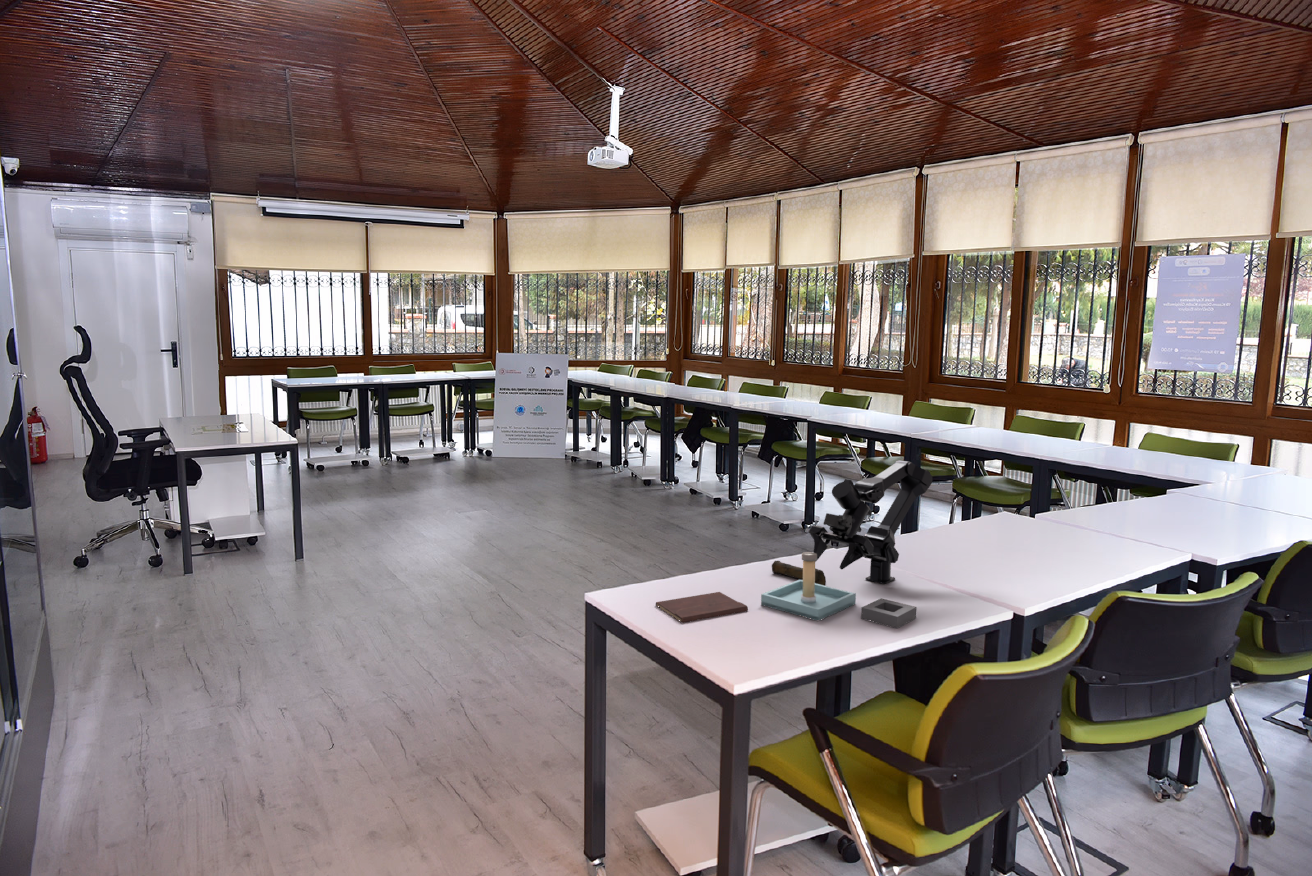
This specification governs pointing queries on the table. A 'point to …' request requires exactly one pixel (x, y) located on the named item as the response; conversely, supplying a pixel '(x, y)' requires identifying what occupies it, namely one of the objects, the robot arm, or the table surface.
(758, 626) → the table surface
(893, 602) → the socket block
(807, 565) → the fuse
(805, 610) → the parts tray
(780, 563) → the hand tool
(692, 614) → the notebook
